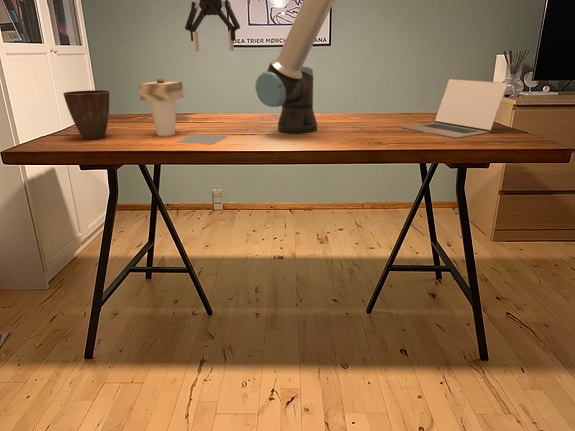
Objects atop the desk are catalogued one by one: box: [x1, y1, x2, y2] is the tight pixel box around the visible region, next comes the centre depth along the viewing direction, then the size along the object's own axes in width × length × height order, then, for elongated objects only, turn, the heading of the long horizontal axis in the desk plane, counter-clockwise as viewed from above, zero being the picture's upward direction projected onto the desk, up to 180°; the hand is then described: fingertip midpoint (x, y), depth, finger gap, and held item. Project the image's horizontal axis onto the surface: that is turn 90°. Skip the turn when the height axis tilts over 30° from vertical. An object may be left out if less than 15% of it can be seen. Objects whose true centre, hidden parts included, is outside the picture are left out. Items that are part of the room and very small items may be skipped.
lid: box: [138, 78, 184, 102], centre depth 162 cm, size 11×11×7 cm
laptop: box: [401, 78, 508, 140], centre depth 169 cm, size 26×24×18 cm
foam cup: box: [148, 99, 177, 137], centre depth 166 cm, size 10×9×13 cm
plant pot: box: [63, 89, 110, 140], centre depth 163 cm, size 15×15×16 cm
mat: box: [174, 134, 229, 145], centre depth 159 cm, size 14×14×1 cm
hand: (213, 51), depth 167 cm, fingers open, 13 cm apart
